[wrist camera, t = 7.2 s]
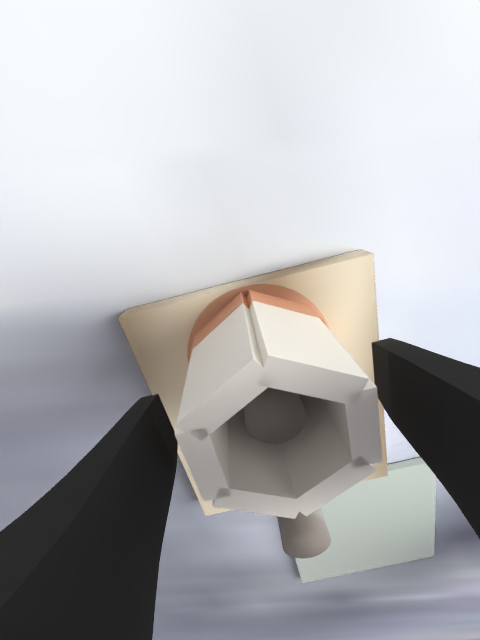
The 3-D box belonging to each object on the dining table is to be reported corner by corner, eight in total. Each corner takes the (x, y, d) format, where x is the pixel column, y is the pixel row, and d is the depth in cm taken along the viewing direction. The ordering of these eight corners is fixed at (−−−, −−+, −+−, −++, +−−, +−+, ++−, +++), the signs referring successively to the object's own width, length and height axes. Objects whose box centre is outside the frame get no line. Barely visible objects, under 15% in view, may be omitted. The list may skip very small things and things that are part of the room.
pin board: (361, 249, 12) (450, 280, 7) (378, 460, 16) (439, 562, 12) (125, 309, 12) (66, 375, 8) (206, 498, 17) (200, 611, 12)
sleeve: (350, 348, 12) (427, 438, 8) (252, 425, 14) (267, 542, 9) (271, 263, 11) (307, 311, 6) (168, 359, 12) (135, 459, 7)
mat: (431, 454, 16) (436, 460, 16) (430, 549, 20) (434, 556, 20) (276, 489, 17) (277, 495, 16) (300, 576, 20) (302, 583, 20)
